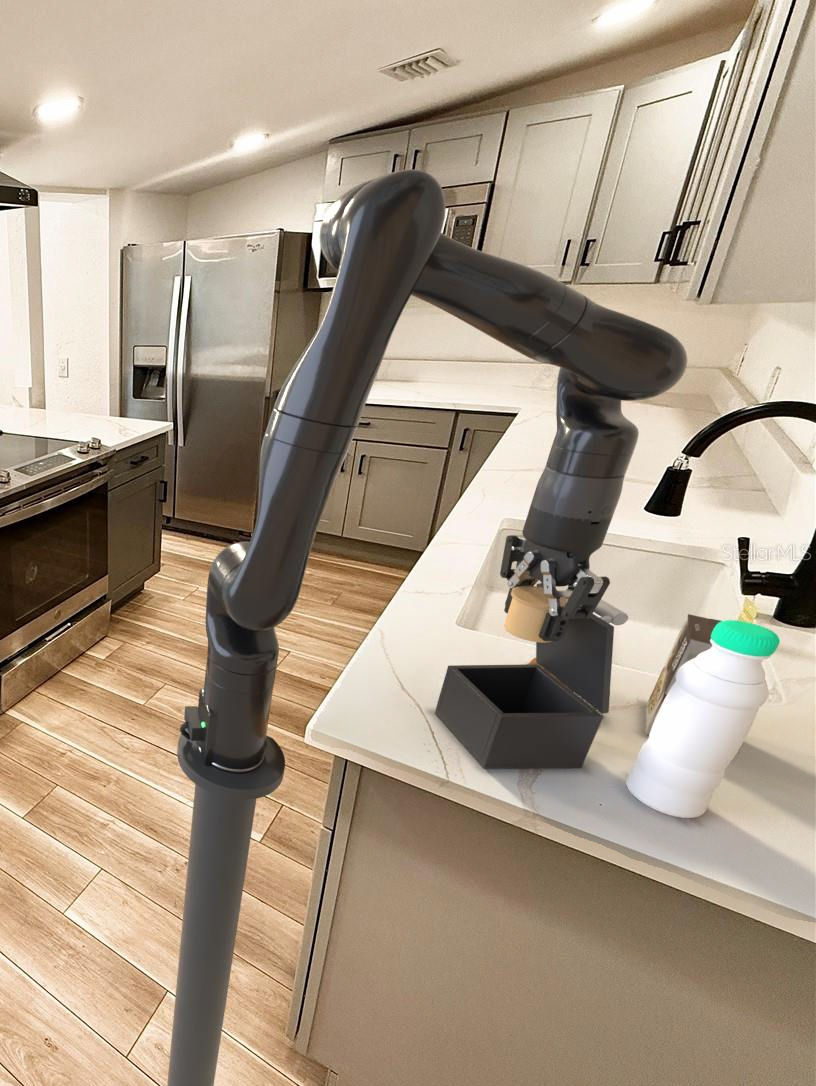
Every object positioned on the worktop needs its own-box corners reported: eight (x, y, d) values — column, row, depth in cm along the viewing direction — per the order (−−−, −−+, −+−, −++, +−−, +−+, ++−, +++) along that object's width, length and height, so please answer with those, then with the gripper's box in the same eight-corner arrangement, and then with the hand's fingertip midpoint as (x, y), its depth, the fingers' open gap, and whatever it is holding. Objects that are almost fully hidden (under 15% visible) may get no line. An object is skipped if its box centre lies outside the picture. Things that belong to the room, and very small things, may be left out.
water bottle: (700, 795, 77) (793, 624, 67) (705, 831, 72) (806, 653, 62) (623, 769, 81) (700, 606, 71) (624, 801, 77) (705, 631, 66)
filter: (521, 644, 78) (533, 608, 76) (490, 620, 83) (500, 586, 81) (570, 643, 77) (584, 607, 75) (536, 619, 83) (548, 585, 81)
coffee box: (709, 755, 83) (762, 656, 76) (643, 734, 87) (689, 638, 80) (706, 721, 89) (756, 626, 82) (644, 703, 93) (687, 611, 86)
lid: (607, 628, 73) (653, 617, 72) (536, 584, 84) (576, 574, 83) (601, 714, 78) (645, 705, 77) (535, 662, 89) (573, 653, 88)
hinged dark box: (483, 768, 83) (501, 717, 79) (434, 713, 93) (448, 665, 90) (581, 768, 82) (604, 716, 78) (520, 712, 92) (537, 664, 89)
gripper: (498, 488, 80) (466, 600, 87) (587, 529, 67) (541, 658, 74) (559, 486, 79) (521, 599, 86) (660, 527, 66) (606, 657, 73)
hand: (530, 625), depth 80 cm, fingers closed on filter, 6 cm apart
